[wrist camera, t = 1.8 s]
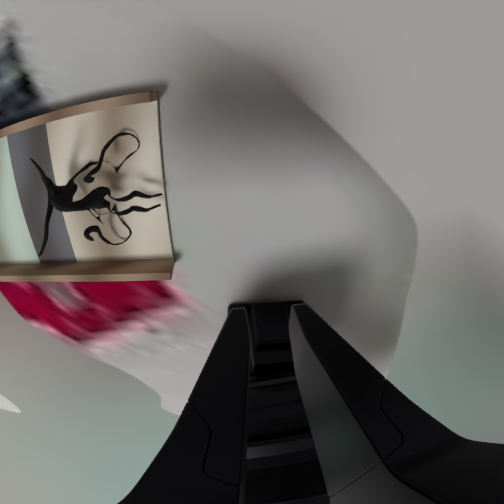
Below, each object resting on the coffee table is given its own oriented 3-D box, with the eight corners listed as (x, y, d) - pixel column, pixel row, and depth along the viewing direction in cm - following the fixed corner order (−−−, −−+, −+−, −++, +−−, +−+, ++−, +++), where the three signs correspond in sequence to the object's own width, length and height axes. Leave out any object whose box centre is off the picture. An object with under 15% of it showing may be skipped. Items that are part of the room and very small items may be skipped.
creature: (169, 132, 17) (52, 127, 14) (175, 153, 13) (19, 148, 10) (155, 238, 21) (53, 234, 18) (159, 285, 17) (34, 280, 14)
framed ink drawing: (157, 90, 15) (149, 91, 13) (174, 263, 21) (171, 279, 20) (-65, 160, 13) (-78, 168, 11) (-31, 269, 19) (-40, 280, 17)
